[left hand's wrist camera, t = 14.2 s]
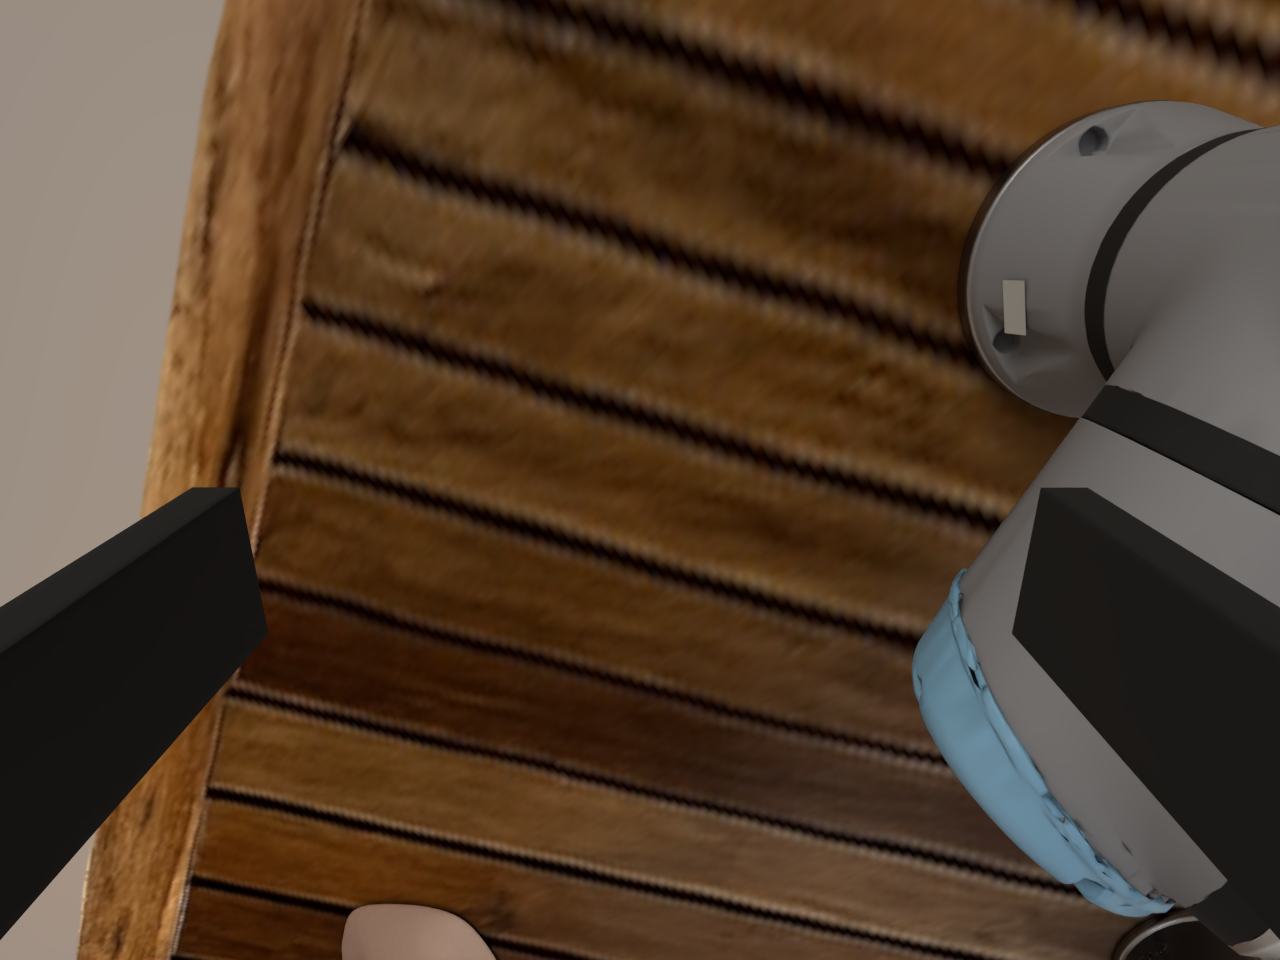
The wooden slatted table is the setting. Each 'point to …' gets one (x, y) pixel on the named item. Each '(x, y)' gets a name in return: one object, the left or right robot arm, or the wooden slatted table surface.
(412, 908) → the anatomical model
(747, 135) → the wooden slatted table surface
